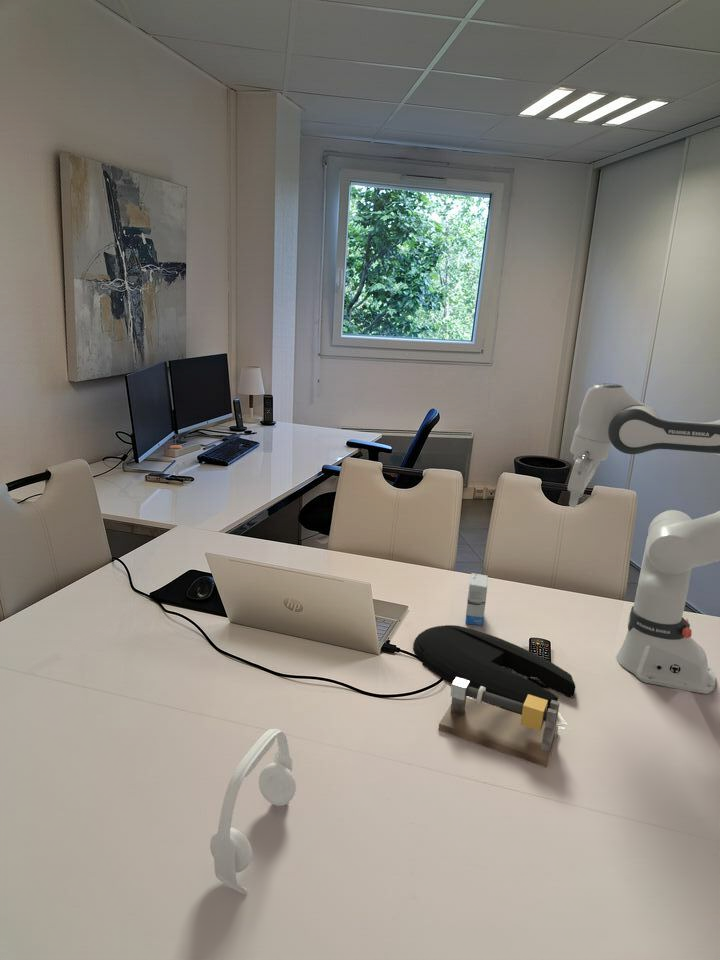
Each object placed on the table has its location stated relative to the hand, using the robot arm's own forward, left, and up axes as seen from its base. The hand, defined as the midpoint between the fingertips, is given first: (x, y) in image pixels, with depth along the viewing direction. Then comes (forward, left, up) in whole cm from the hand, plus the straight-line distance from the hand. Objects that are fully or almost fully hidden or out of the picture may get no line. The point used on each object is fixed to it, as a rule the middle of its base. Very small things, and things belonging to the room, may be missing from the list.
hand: (575, 501), depth 164 cm
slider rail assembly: (+3, +46, -39) cm, 60 cm away
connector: (+12, +46, -37) cm, 60 cm away
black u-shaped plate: (+12, +23, -40) cm, 47 cm away
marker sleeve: (-4, +46, -34) cm, 57 cm away
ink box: (+22, 0, -39) cm, 45 cm away
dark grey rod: (+1, +46, -34) cm, 57 cm away
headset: (+30, +94, -39) cm, 106 cm away
